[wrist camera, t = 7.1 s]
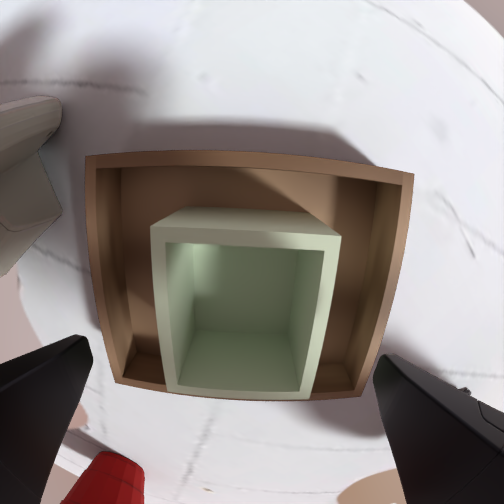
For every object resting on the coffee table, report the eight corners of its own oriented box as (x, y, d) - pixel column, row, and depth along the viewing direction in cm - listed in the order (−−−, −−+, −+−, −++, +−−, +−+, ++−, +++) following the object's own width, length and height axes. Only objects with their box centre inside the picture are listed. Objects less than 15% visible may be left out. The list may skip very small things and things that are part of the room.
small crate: (294, 337, 15) (309, 399, 10) (188, 331, 15) (167, 391, 10) (309, 212, 13) (341, 236, 8) (185, 206, 13) (150, 226, 8)
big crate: (346, 364, 17) (360, 396, 13) (132, 352, 16) (115, 382, 13) (383, 172, 13) (414, 173, 10) (116, 157, 13) (85, 156, 10)
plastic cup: (107, 476, 23) (84, 540, 12) (64, 430, 20) (25, 503, 9) (179, 490, 23) (166, 566, 11) (144, 447, 20) (114, 546, 8)
